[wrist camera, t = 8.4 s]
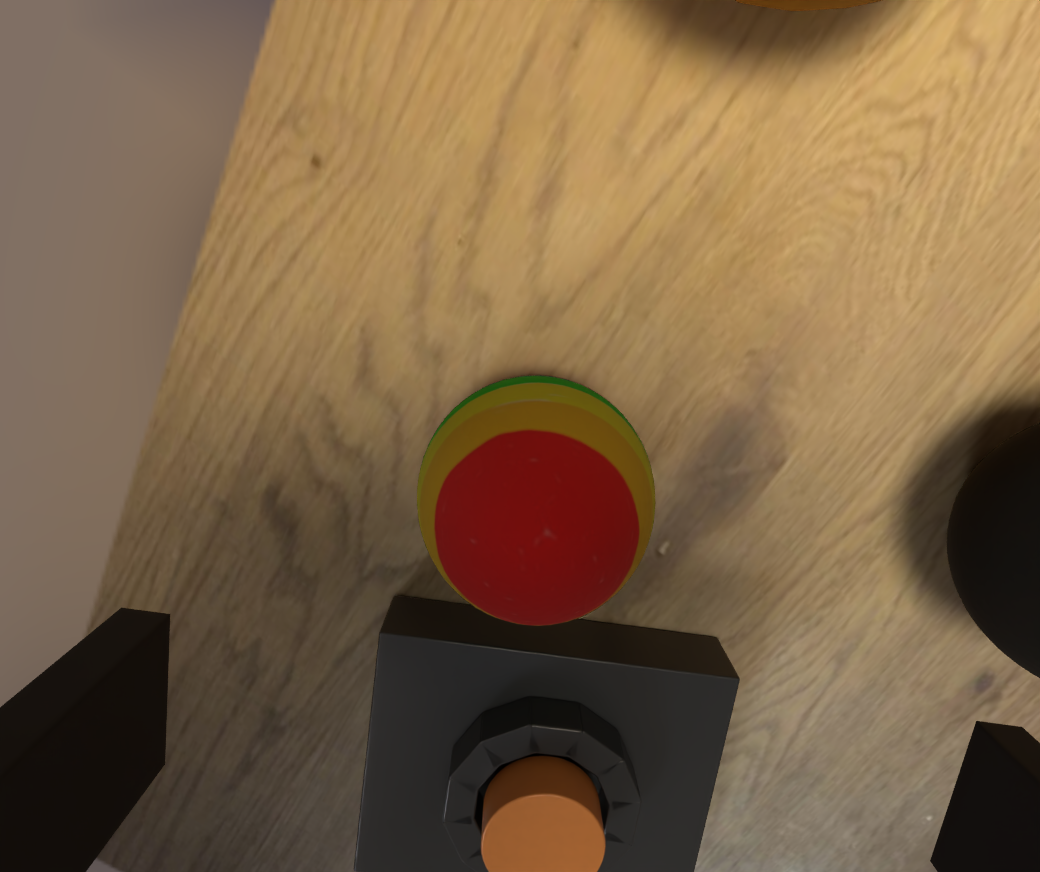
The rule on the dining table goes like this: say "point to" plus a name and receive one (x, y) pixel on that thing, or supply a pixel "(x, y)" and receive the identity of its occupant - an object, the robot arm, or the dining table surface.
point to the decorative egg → (536, 500)
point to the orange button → (542, 818)
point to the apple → (806, 4)
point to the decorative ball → (1001, 547)
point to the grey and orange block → (538, 732)
